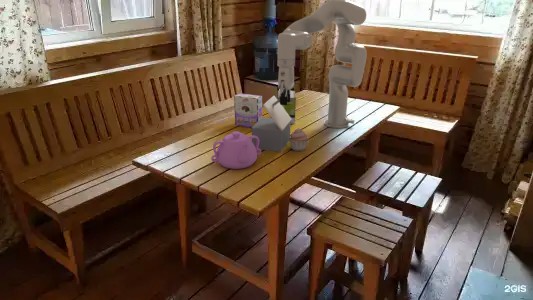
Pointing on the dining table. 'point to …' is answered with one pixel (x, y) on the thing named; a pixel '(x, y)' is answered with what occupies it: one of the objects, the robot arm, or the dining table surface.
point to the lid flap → (277, 112)
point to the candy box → (247, 109)
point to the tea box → (290, 105)
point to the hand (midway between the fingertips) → (285, 103)
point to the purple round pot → (236, 151)
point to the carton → (270, 135)
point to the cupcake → (298, 140)
